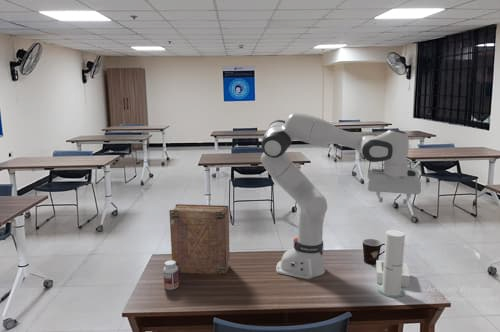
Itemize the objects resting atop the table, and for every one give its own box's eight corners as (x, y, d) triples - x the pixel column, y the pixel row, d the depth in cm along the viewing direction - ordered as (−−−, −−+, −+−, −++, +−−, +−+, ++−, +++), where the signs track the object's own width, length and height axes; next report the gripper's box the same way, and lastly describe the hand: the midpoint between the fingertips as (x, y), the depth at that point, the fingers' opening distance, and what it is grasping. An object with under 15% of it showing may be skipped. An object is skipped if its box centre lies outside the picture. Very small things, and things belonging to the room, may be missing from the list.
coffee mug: (361, 264, 188) (362, 244, 186) (361, 257, 196) (362, 238, 194) (387, 267, 185) (388, 247, 183) (386, 259, 193) (387, 240, 191)
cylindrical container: (402, 296, 158) (406, 237, 154) (383, 294, 160) (387, 235, 155) (399, 287, 165) (403, 230, 160) (381, 285, 167) (384, 229, 162)
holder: (376, 283, 170) (377, 272, 169) (375, 270, 182) (376, 259, 181) (409, 287, 167) (409, 276, 166) (405, 273, 179) (406, 262, 178)
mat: (378, 295, 160) (378, 294, 160) (377, 284, 170) (378, 282, 169) (405, 299, 157) (405, 297, 157) (402, 286, 167) (402, 285, 167)
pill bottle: (176, 281, 174) (175, 258, 171) (180, 288, 168) (179, 263, 166) (162, 284, 171) (161, 261, 169) (166, 291, 166) (164, 266, 163)
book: (172, 272, 182) (168, 210, 177) (178, 263, 191) (175, 204, 186) (226, 275, 179) (224, 211, 173) (230, 266, 188) (228, 205, 182)
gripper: (368, 170, 159) (366, 203, 162) (423, 173, 153) (420, 207, 156) (368, 167, 165) (366, 198, 168) (421, 169, 159) (418, 202, 162)
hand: (392, 203), depth 162 cm, fingers open, 8 cm apart
